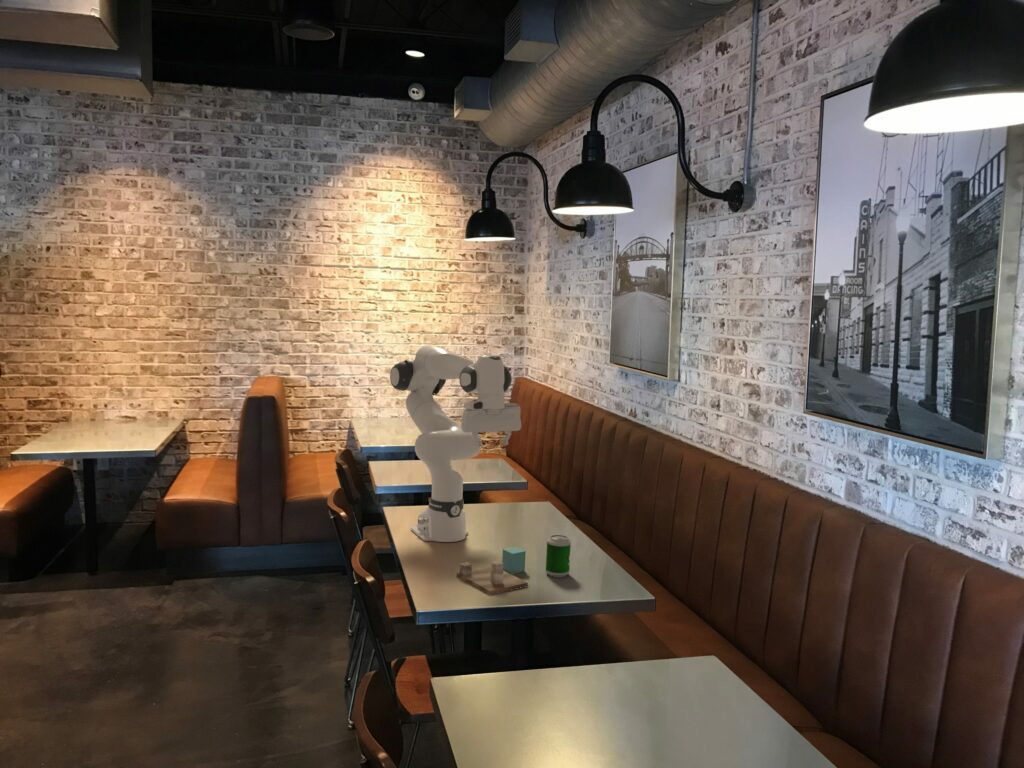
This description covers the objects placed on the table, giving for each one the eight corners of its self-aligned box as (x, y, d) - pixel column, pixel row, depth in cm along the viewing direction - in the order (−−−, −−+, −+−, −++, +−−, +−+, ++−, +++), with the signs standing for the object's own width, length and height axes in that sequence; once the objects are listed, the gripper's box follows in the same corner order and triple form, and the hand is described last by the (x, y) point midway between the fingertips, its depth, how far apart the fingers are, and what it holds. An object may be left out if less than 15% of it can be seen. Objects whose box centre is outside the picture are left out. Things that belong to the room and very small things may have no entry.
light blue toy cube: (501, 569, 259) (502, 549, 258) (514, 566, 262) (515, 546, 261) (511, 574, 255) (512, 553, 254) (524, 571, 258) (525, 551, 257)
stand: (456, 576, 250) (457, 553, 249) (493, 569, 259) (494, 547, 258) (489, 594, 236) (490, 571, 235) (527, 586, 244) (528, 563, 243)
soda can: (567, 579, 252) (569, 542, 251) (543, 576, 253) (545, 539, 252) (570, 571, 259) (572, 535, 258) (547, 569, 261) (549, 533, 259)
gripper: (516, 402, 273) (517, 443, 273) (459, 404, 265) (459, 446, 265) (524, 403, 267) (524, 444, 267) (465, 404, 259) (466, 447, 259)
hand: (491, 445), depth 266 cm, fingers open, 8 cm apart
